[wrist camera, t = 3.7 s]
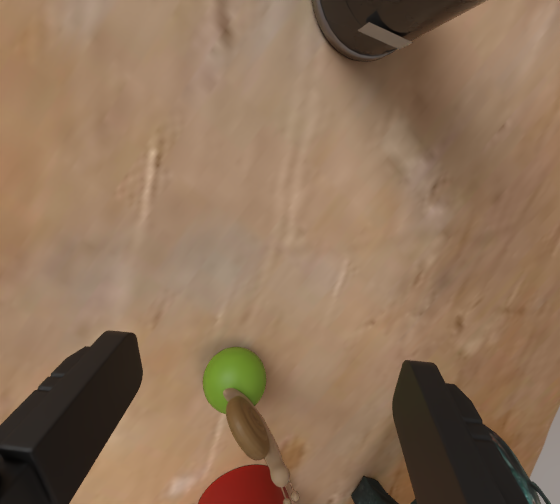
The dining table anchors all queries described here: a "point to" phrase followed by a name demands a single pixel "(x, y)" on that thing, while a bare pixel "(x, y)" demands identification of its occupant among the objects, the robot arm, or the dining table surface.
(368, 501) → the ceramic cat
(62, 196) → the dining table surface
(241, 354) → the snail figurine
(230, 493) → the cheese
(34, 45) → the dining table surface
